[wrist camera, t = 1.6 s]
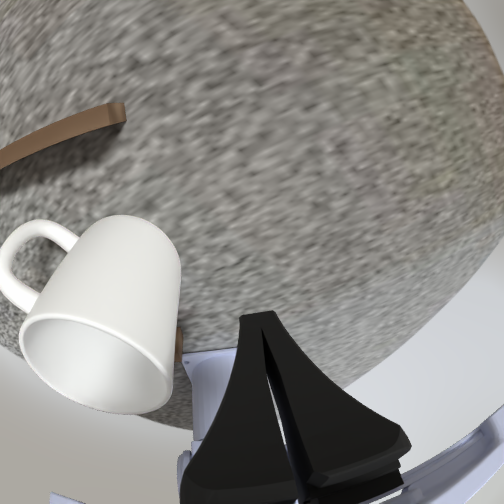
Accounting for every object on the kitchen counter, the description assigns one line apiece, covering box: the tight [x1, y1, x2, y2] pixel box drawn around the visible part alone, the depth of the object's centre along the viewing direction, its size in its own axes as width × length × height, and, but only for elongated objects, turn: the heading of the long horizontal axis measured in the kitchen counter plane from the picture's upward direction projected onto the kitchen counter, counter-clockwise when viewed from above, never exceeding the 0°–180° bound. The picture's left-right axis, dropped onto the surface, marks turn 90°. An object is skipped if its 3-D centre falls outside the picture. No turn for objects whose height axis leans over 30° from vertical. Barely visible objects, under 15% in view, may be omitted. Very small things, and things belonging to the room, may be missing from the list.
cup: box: [0, 215, 181, 415], centre depth 14 cm, size 8×12×10 cm
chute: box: [0, 103, 183, 362], centre depth 16 cm, size 19×18×3 cm
